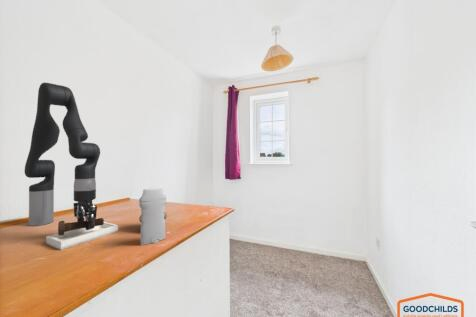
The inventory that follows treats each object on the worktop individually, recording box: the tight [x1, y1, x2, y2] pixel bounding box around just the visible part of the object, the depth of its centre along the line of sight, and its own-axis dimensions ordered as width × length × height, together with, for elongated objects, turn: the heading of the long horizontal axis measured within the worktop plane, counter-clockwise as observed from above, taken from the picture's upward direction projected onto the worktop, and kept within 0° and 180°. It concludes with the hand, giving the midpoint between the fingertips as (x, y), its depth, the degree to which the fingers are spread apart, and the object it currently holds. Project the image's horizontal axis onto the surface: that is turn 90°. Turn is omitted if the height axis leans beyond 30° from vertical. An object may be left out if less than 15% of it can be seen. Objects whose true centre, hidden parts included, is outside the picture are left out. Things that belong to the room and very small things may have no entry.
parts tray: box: [45, 221, 119, 251], centre depth 84 cm, size 12×21×3 cm, turn 153°
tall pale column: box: [139, 186, 167, 246], centre depth 80 cm, size 11×4×22 cm, turn 134°
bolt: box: [57, 217, 105, 236], centre depth 84 cm, size 6×5×15 cm
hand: (84, 228), depth 84 cm, fingers closed on bolt, 6 cm apart
